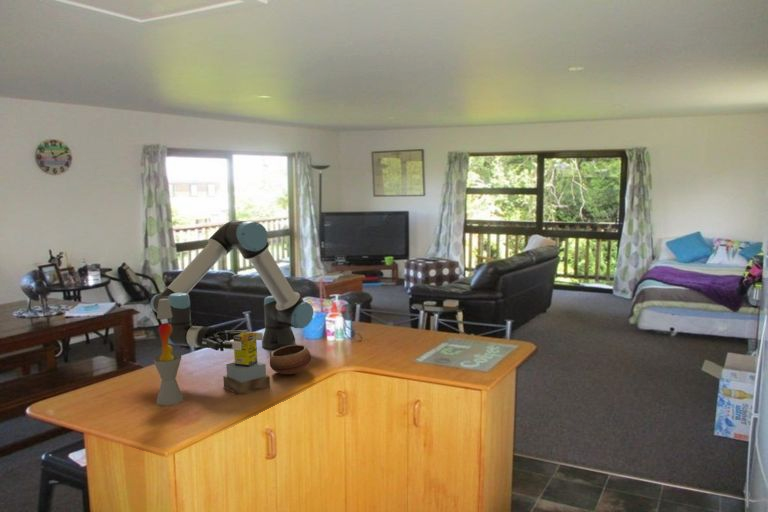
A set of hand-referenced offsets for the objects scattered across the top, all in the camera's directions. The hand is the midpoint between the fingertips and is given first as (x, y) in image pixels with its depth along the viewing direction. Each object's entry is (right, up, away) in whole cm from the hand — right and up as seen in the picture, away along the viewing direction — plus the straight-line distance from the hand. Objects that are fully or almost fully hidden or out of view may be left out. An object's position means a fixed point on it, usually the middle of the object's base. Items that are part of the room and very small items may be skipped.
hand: (252, 341), depth 209 cm
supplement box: (-2, -9, +2) cm, 9 cm away
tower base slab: (-2, -17, +3) cm, 18 cm away
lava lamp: (-26, -19, -10) cm, 33 cm away
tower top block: (-2, -13, +2) cm, 13 cm away
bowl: (+11, -15, +18) cm, 26 cm away
